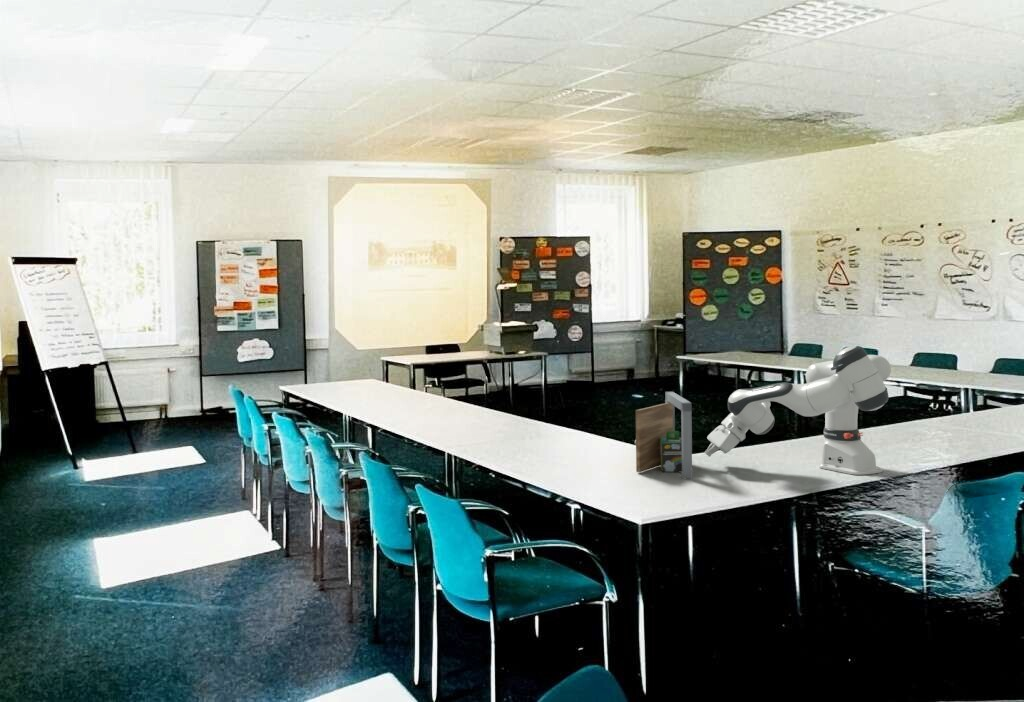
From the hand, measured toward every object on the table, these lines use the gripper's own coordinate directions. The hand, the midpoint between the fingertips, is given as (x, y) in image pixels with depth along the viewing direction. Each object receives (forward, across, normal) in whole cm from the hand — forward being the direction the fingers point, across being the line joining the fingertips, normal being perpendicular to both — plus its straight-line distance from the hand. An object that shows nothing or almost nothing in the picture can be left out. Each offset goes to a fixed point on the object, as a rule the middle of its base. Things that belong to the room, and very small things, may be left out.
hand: (706, 454), depth 303 cm
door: (+17, -5, -10) cm, 20 cm away
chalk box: (+13, 0, -5) cm, 14 cm away
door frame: (+11, -1, -3) cm, 12 cm away
